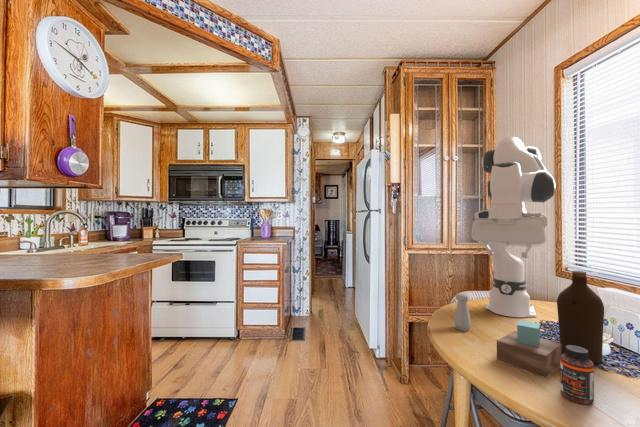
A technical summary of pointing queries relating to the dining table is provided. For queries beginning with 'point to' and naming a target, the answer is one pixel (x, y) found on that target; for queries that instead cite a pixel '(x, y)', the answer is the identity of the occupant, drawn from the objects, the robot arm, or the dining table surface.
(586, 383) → the supplement bottle
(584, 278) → the olive oil
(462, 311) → the salt shaker
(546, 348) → the walnut block
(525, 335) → the teal cube
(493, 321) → the dining table surface
